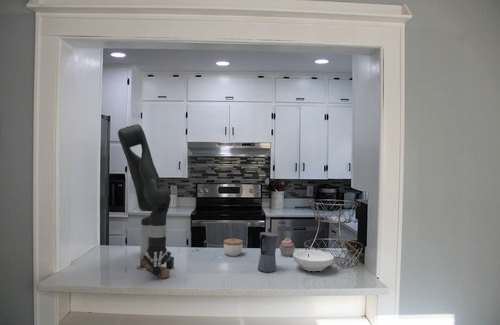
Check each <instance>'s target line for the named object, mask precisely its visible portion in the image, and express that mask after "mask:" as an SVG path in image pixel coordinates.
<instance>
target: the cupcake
mask: <svg viewBox="0 0 500 325" xmlns="http://www.w3.org/2000/svg"><path fill="white" fill-rule="evenodd" d="M278 248H279V251H280V253H281V256H282V255H283V257H286V256H290V257H293V253H294V252H295V249H296V246H295V245H294V242H293V241H292V240H291V238H290V237H286V238H284V240H282V241H281V243H280V245H279V246H278Z"/></svg>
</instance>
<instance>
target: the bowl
mask: <svg viewBox="0 0 500 325" xmlns="http://www.w3.org/2000/svg"><path fill="white" fill-rule="evenodd" d="M308 254H309V257H308ZM292 258H293V261H294V262H295V263H297V264H298V265H299V266H300V267H301V268H302V269H303V270H304V271H306V270H307V272H310V271H320V272H322V271H323V270H324V269H326V268H327V267H329V266H331V265H332V264H333V263H334V260H335V259H334V258H335V257H334V255H332V254H331V253H329V252H326V251H322V250H316V249H315V250H314V249H309V250H308V249H303V250H297V251H294V252H293V255H292Z"/></svg>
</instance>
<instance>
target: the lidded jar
mask: <svg viewBox="0 0 500 325" xmlns="http://www.w3.org/2000/svg"><path fill="white" fill-rule="evenodd" d="M243 245H244V240H242V239H239V238H235V237H232V238H228V239H226V238H225V239H223V249H224V252H225V253H226V255H227V256H228V257H238V256H239V255H240V254H241V253H242V251H243Z"/></svg>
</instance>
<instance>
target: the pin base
mask: <svg viewBox="0 0 500 325" xmlns="http://www.w3.org/2000/svg"><path fill="white" fill-rule="evenodd" d="M148 258H149V257H148ZM142 259H143V260H144V258H142ZM136 269H137V270H140V271H149V270H148V269H146V268H142V267H140V264H139V265H137V266H136Z"/></svg>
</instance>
